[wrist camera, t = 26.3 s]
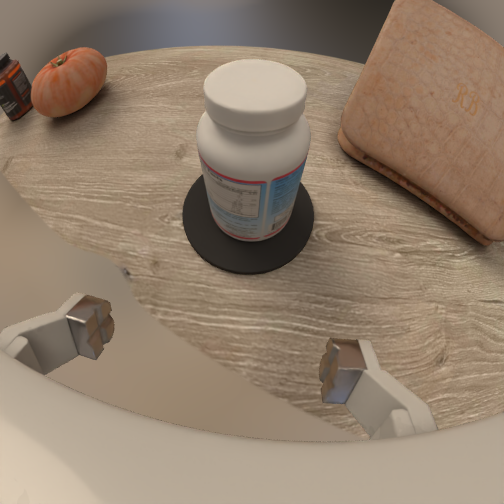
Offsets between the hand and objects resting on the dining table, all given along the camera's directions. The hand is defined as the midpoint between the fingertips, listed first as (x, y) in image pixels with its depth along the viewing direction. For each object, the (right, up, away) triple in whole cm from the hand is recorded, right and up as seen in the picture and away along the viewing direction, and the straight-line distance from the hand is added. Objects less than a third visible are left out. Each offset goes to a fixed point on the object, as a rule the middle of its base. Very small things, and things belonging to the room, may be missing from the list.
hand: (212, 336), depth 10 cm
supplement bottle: (-35, +26, +19) cm, 48 cm away
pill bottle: (+1, +6, +12) cm, 13 cm away
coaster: (+1, +6, +12) cm, 13 cm away
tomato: (-22, +23, +18) cm, 36 cm away
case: (+22, +15, +16) cm, 31 cm away
